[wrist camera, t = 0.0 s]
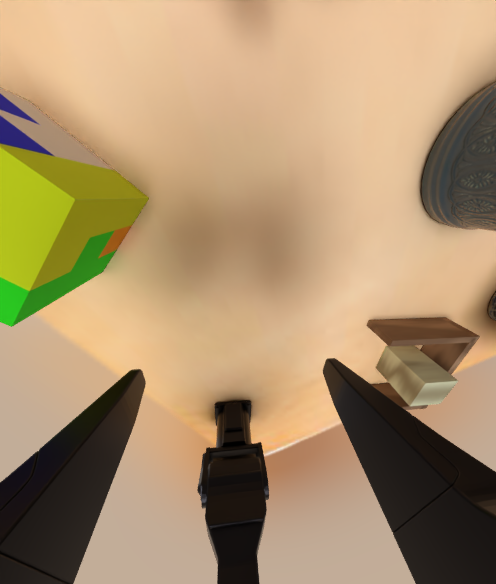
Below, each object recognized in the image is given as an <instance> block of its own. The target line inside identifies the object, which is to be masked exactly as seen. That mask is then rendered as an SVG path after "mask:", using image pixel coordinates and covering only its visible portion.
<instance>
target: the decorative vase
mask: <svg viewBox="0 0 496 584" xmlns="http://www.w3.org/2000/svg"><path fill="white" fill-rule="evenodd" d="M488 314H489V316H490V318H492V319H493V320H495V321H496V292H495V294H494V295H493V296H492V298H491V300H490V303H489V306H488Z"/></svg>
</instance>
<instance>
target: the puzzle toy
mask: <svg viewBox="0 0 496 584" xmlns="http://www.w3.org/2000/svg"><path fill="white" fill-rule="evenodd" d="M148 199H149V198H148V197H147V196H146V195H145V194H143V193H142V192H141V191H140V190H138V189H137V188H136V187H135V186H133V185H132V184H131V183H130V182H128V181H127V180H126V179H125V178H123V177H122V176H121V175H120V174H119V173H117V172H116V171H115V170H114V169H112V168H111V167H110V166H109V165H107V164H106V163H105V162H104V161H102V160H101V159H100V158H99V157H97V156H96V155H95V154H94V153H93V152H91V151H90V150H89V149H88V148H86V147H85V146H84V145H83V144H81V143H80V142H79V141H78V140H76V139H75V138H74V137H73V136H71V135H70V134H69V133H68V132H67V131H65V130H64V129H63V128H62V127H60V126H59V125H58V124H57V123H55V122H54V121H53V120H52V119H50V118H49V117H48V116H47V115H45V114H44V113H43V112H42V111H41V110H39V109H38V108H37V107H36V106H34V105H33V104H32V103H31V102H29V101H28V100H26V99H24V98H22V97H19V96H17V95H15V94H13V93H11V92H9V91H7V90H5V89H3V88H1V87H0V322H2V323H4V324H6V325H9V326H11V327H12V326H14V325H15V324H17V323H18V322H20V321H22V320H24V319H25V318H27V317H29V316H30V315H32V314H34V313H35V312H37V311H39V310H40V309H42V308H44V307H45V306H47V305H49V304H50V303H52V302H54V301H55V300H57V299H59V298H60V297H62V296H64V295H65V294H67V293H69V292H70V291H72V290H74V289H75V288H77V287H79V286H80V285H82V284H84V283H85V282H87V281H89V280H90V279H92V278H94V277H95V276H97V275H98V274H100V273H102V272H103V271H104V269H105V267H106V266H107V264H108V263H109V261H110V259H111V258H112V256H113V255H114V253H115V252H116V250H117V248H118V247H119V245H120V244H121V242H122V240H123V239H124V237H125V236H126V234H127V233H128V231H129V229H130V228H131V226H132V225H133V223H134V221H135V220H136V218H137V217H138V215H139V214H140V212H141V210H142V209H143V207H144V206H145V204H146V202H147V201H148Z"/></svg>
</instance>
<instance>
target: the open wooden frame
mask: <svg viewBox="0 0 496 584" xmlns="http://www.w3.org/2000/svg"><path fill="white" fill-rule="evenodd" d="M367 326H368V327H369V328H370V329H371V330H372V331H373V332H374V333H375V334H377V335H378V336H379V337H380V338H381V339H382V340H383V341H384V342H385V343H386V344H387V345H388V346H390V347H392V346H412V345H423V347H422V349H421V350H420V351H421V352H423V353H424V354H425V355H426V356H428V357H429V358H430V359H432V360H433V361H434V362H435V363H437V364H438V365H439V366H440V367H442V368H443V369H444V370H445V371H447V372H448V373H449V374H450V375H451V374H452V373H453V372H454V370H455V369H456V368H457V366H458V365H459V364H460V362H461V361H462V360H463V358H464V357H465V356H466V354H467V353H468V352H469V350H470V349H471V348H472V346H473V345H474V344H475V343H476V341H477V340H478V339H479V337H480V336H478V335H476V334H475V333H473V332H471V331H469V330H467V329H466V328H464V327H462V326H460V325H458V324H456V323H455V322H453V321H451V320H449V319H447V318H419V319H391V320H369V322H368V324H367ZM371 385H372V386H373V387H375V388H376V389H378V390H379V391H380V392H382V393H383V394H384V395H386V396H387V397H388V398H390V399H391V400H393V401H394V402H395V403H397V404H398V405H399V406H401V407H402V408H403V409H405V410H412V409H423V408H426V407H427V406H428V405H420V406H409V405H408V404H407V403H406V402H405V400H404V399H403V398H402V397H401V396H400V395H399V394H398V392H397V391H396V390H395V389H394V388H393V387H392V386H391V384H390V383H383V384H371Z"/></svg>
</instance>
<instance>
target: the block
mask: <svg viewBox="0 0 496 584" xmlns="http://www.w3.org/2000/svg"><path fill="white" fill-rule="evenodd" d="M376 368H377V369H378V371H379V372H380V373H381V374H382V375H383V376H384V378H385V379H386V380H387V381H388V382H389V383H390V384H391V386H392V387H393V388H394V389H395V390H396V391H397V392H398V394H399V395H400V396H401V397H402V398H403V399H404V400H405V402H406V403H407V404H408V405H409V406H420V405H431V404H440V403H441V402H442V401H443V399H444V398H445V397H446V396H447V395H448V393H449V392H450V391H451V390H452V388H453V387H454V386H455V384H456V383H457V382H458V380H457V379H455V378H454V377H453V376H452V375H450V374H449V373H448V372H447V371H445V370H444V369H443V368H442V367H440V366H439V365H438V364H437V363H435V362H434V361H433V360H432V359H430V358H429V357H428V356H426V355H425V354H424V353H423V352H421V351H420V350H419V349H418V348H416V347H415V346H414V345H412V346H392V347H390V346H386V347H385V349H384V351H383V354H382V356H381V358H380V360H379V362H378V364H377V366H376Z"/></svg>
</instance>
